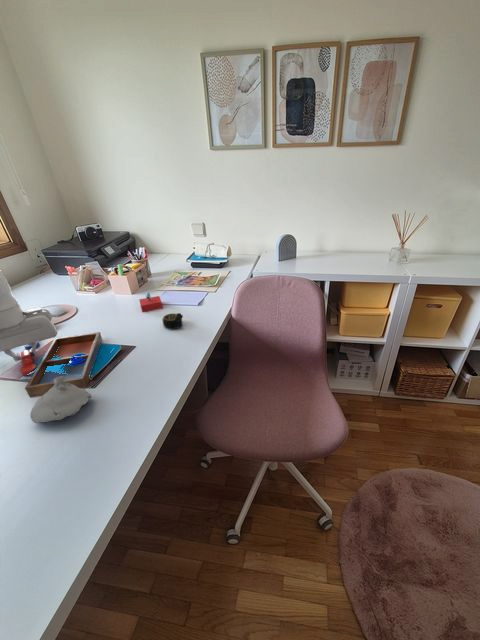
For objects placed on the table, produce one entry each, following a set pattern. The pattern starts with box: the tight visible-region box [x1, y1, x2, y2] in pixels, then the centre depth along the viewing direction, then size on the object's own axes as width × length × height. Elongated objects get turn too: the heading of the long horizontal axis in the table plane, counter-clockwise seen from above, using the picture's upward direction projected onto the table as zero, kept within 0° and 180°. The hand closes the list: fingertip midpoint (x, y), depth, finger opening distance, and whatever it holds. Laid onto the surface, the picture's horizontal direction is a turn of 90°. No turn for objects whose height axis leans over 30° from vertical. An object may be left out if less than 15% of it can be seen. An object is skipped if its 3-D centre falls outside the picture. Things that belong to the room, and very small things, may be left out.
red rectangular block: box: [139, 291, 164, 313], centre depth 121 cm, size 8×7×6 cm
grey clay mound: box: [29, 376, 93, 424], centre depth 71 cm, size 12×12×11 cm
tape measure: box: [161, 312, 184, 330], centre depth 108 cm, size 7×7×4 cm
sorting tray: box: [24, 332, 103, 398], centre depth 89 cm, size 14×26×3 cm, turn 15°
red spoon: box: [19, 349, 38, 376], centre depth 89 cm, size 12×4×3 cm, turn 35°
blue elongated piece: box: [23, 341, 41, 350], centre depth 101 cm, size 12×4×3 cm, turn 35°
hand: (26, 357), depth 90 cm, fingers closed on red spoon, 3 cm apart
